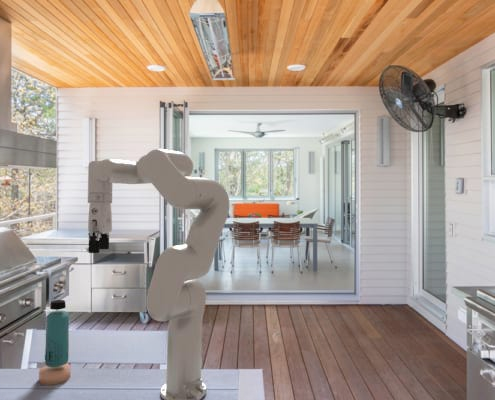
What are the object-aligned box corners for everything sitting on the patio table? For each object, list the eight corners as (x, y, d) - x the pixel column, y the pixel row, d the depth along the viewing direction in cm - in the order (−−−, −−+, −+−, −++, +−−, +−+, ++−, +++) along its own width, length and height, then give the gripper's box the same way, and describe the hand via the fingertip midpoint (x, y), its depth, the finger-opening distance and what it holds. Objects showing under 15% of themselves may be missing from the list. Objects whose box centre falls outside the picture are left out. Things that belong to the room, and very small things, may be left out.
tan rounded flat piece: (74, 379, 118) (74, 369, 118) (43, 388, 113) (43, 377, 113) (65, 370, 124) (65, 360, 124) (35, 377, 119) (35, 367, 119)
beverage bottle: (72, 364, 122) (74, 298, 122) (60, 373, 115) (62, 303, 115) (52, 362, 122) (54, 297, 123) (39, 372, 116) (41, 302, 116)
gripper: (103, 199, 123) (102, 254, 123) (119, 199, 140) (118, 247, 140) (78, 198, 123) (77, 254, 123) (97, 198, 140) (96, 247, 140)
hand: (99, 250), depth 131 cm, fingers open, 9 cm apart
